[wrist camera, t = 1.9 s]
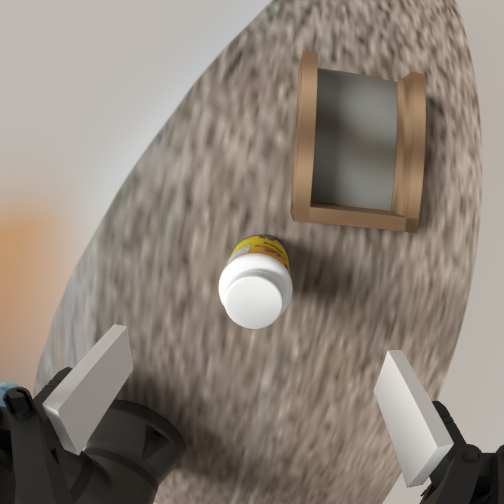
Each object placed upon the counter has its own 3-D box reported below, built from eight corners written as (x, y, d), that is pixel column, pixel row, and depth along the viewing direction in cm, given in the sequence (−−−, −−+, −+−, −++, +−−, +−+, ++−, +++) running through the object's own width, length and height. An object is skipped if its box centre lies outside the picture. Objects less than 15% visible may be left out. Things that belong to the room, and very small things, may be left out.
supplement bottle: (299, 268, 30) (310, 315, 20) (252, 296, 31) (243, 351, 21) (268, 221, 29) (265, 248, 19) (221, 252, 30) (196, 292, 20)
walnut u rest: (298, 68, 25) (303, 51, 20) (404, 86, 24) (424, 75, 20) (290, 212, 29) (293, 221, 24) (396, 222, 28) (416, 232, 23)
